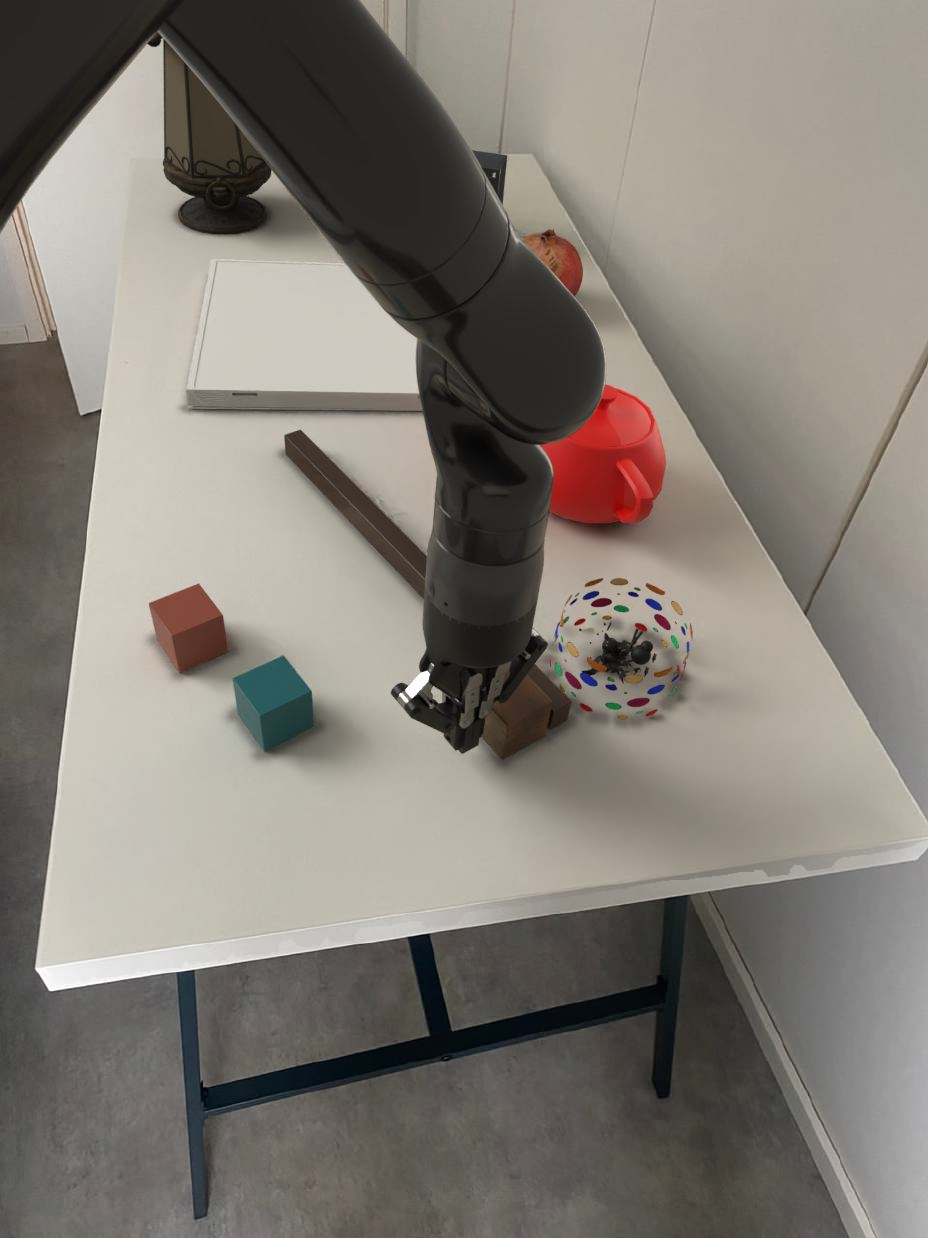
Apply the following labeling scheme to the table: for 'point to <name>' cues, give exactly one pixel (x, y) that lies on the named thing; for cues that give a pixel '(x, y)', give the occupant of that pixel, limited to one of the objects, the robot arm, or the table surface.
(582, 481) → the teapot
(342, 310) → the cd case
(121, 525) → the table surface
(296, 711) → the block teal
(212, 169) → the lantern
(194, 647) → the block brick
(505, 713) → the block walnut
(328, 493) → the rail
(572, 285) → the fruit
